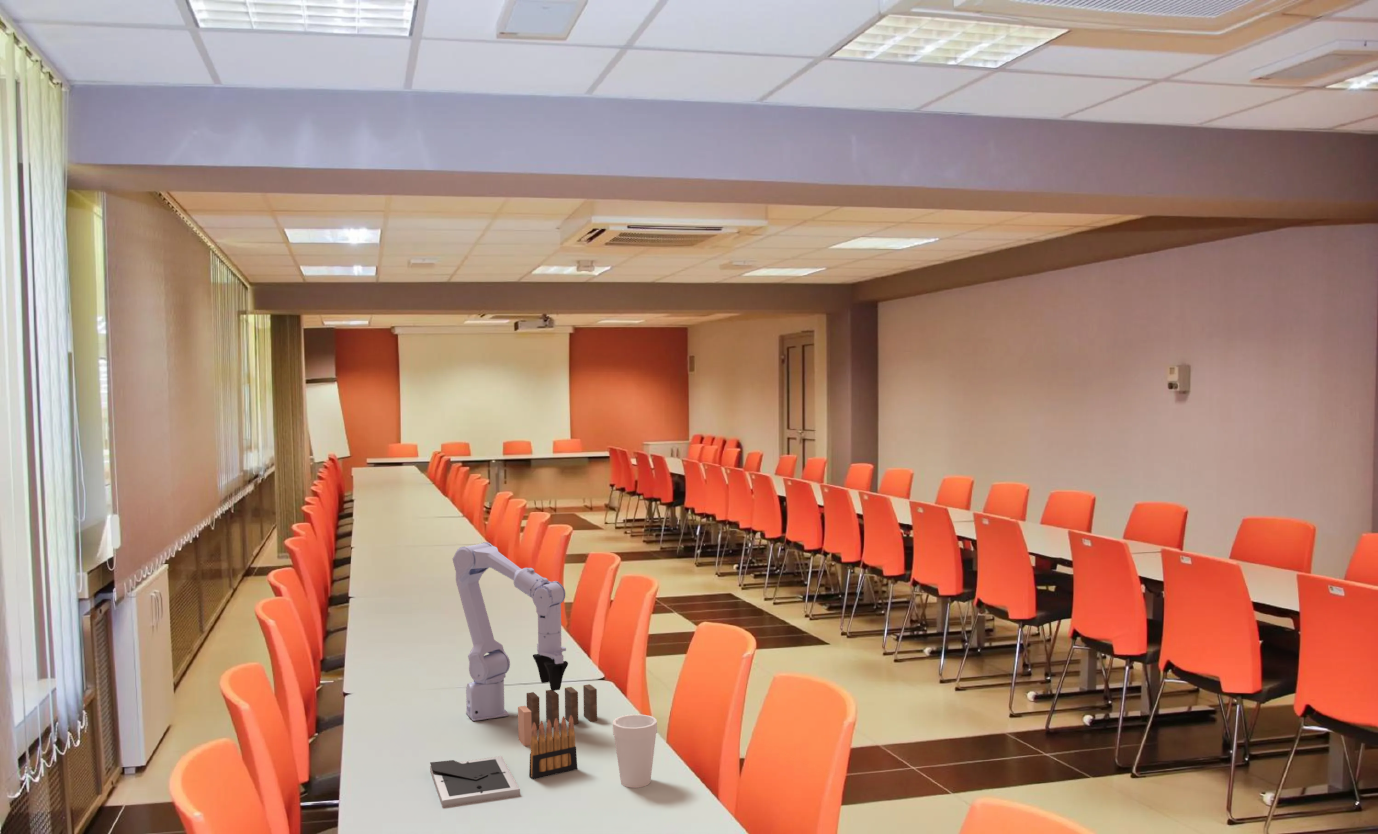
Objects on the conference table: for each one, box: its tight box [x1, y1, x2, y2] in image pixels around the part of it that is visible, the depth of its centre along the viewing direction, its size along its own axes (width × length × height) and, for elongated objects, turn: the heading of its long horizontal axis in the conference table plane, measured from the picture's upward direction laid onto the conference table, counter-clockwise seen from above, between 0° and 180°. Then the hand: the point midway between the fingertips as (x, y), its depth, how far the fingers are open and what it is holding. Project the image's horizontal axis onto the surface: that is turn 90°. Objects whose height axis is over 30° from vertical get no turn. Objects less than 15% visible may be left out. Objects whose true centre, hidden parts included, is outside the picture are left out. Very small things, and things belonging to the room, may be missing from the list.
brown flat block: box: [582, 684, 598, 723], centre depth 262 cm, size 2×5×8 cm, turn 25°
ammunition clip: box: [528, 715, 578, 780], centre depth 224 cm, size 11×2×12 cm, turn 123°
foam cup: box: [612, 713, 658, 789], centre depth 219 cm, size 10×9×13 cm
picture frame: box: [429, 755, 521, 808], centre depth 219 cm, size 16×3×21 cm
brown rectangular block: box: [526, 691, 541, 731], centre depth 255 cm, size 2×5×8 cm, turn 25°
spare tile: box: [517, 705, 532, 747], centre depth 244 cm, size 2×5×8 cm, turn 25°
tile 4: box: [564, 686, 579, 725], centre depth 260 cm, size 2×5×8 cm, turn 25°
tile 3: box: [545, 689, 560, 729], centre depth 258 cm, size 2×5×8 cm, turn 25°
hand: (550, 686), depth 256 cm, fingers open, 7 cm apart
